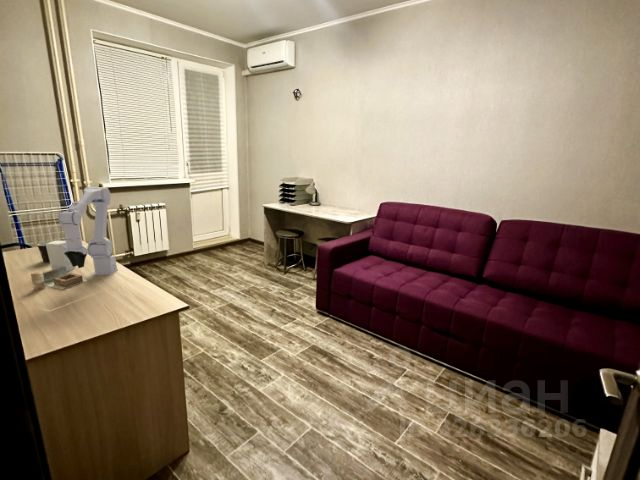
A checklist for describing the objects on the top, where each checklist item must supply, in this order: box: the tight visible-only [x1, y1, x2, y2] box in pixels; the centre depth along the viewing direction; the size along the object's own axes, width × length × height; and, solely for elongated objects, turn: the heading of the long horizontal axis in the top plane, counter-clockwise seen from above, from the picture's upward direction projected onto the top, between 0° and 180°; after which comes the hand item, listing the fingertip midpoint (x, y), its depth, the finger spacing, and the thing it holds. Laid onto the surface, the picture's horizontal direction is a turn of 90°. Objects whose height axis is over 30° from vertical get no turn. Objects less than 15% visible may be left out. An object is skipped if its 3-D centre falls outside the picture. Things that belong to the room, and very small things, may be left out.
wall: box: [42, 266, 68, 283], centre depth 162 cm, size 2×10×5 cm, turn 158°
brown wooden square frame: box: [53, 272, 84, 288], centre depth 159 cm, size 8×8×3 cm
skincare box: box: [46, 239, 77, 273], centre depth 173 cm, size 8×7×16 cm
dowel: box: [30, 271, 46, 291], centre depth 152 cm, size 4×4×8 cm
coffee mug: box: [36, 240, 54, 263], centre depth 186 cm, size 12×9×10 cm
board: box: [45, 278, 88, 290], centre depth 161 cm, size 15×12×1 cm
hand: (78, 266), depth 154 cm, fingers open, 3 cm apart
